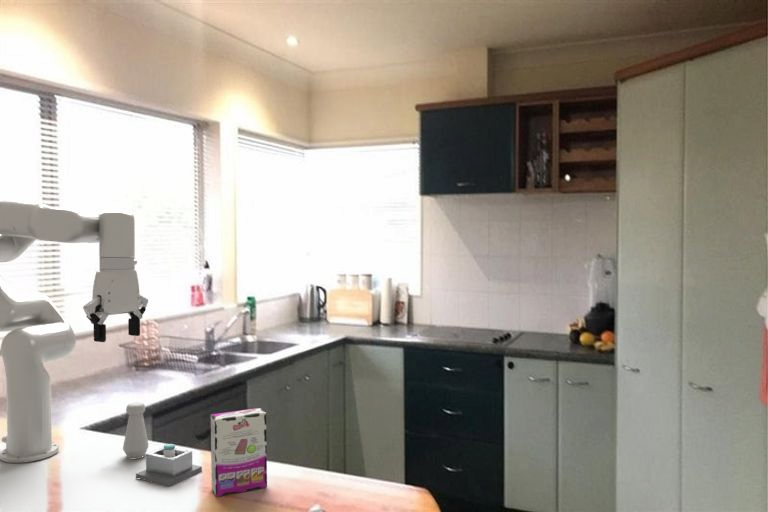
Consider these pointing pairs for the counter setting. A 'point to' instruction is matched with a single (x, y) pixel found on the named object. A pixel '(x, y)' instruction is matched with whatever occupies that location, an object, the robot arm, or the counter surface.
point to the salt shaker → (135, 432)
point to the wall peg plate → (165, 480)
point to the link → (168, 462)
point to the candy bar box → (238, 451)
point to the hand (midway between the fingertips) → (117, 338)
